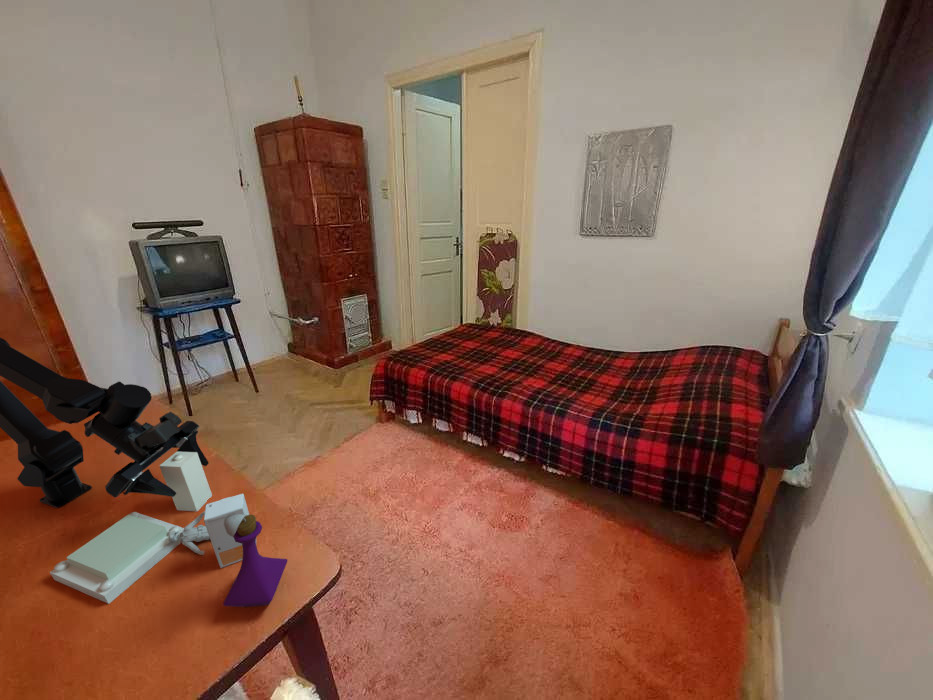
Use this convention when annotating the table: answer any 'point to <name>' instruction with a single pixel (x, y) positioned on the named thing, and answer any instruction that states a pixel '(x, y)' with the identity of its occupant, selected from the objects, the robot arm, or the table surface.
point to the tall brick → (186, 480)
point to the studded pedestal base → (117, 556)
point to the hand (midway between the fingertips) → (192, 479)
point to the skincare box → (214, 522)
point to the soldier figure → (191, 535)
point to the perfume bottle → (252, 565)
